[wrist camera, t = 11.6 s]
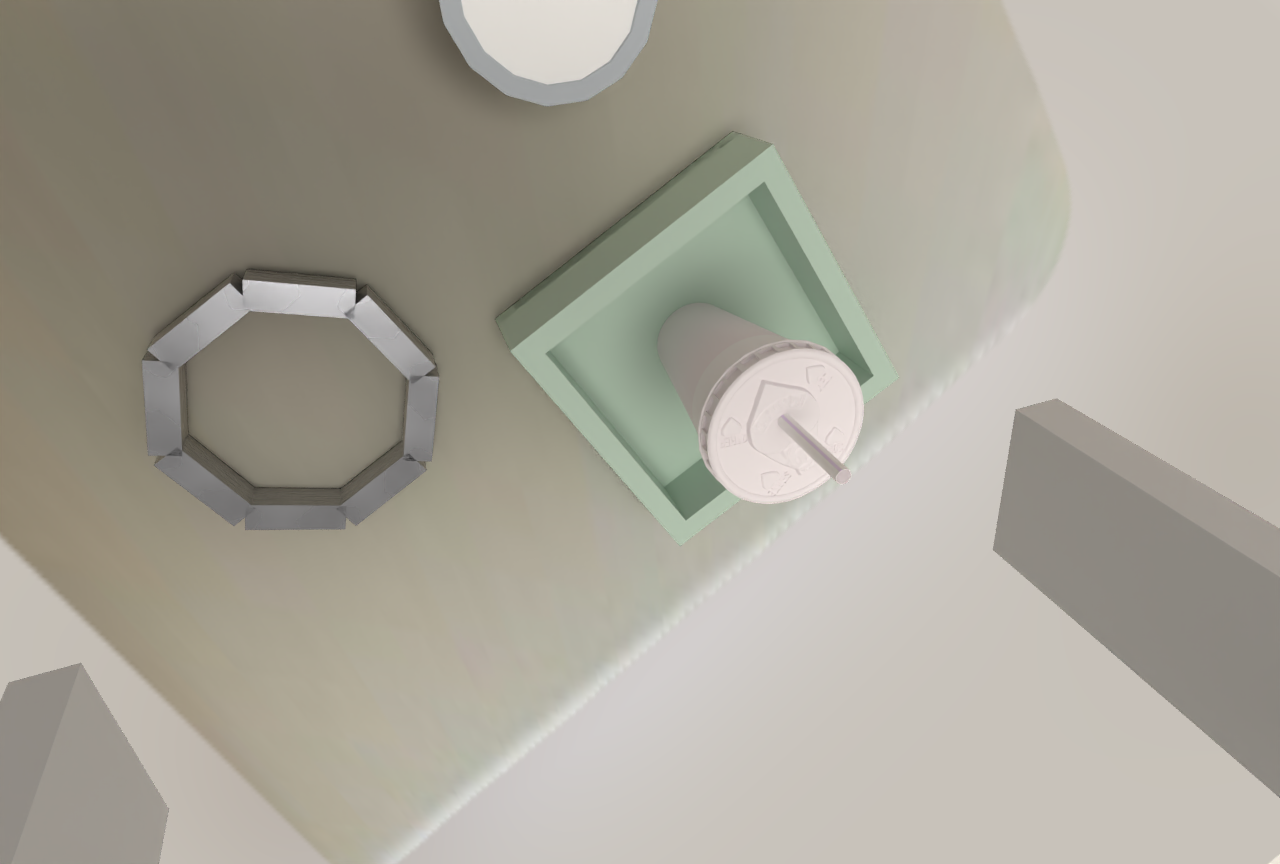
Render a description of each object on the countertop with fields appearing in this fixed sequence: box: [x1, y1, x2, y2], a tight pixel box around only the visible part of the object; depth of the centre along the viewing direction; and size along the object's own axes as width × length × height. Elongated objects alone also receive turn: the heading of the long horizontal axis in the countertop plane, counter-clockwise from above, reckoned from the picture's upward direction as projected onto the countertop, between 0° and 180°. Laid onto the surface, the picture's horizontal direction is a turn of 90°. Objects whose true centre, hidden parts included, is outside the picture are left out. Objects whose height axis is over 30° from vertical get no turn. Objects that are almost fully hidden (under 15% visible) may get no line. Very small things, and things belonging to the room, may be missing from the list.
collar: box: [142, 269, 439, 530], centre depth 35 cm, size 11×11×2 cm
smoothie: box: [657, 303, 864, 504], centre depth 33 cm, size 6×6×14 cm
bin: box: [495, 131, 899, 546], centre depth 38 cm, size 13×13×4 cm
